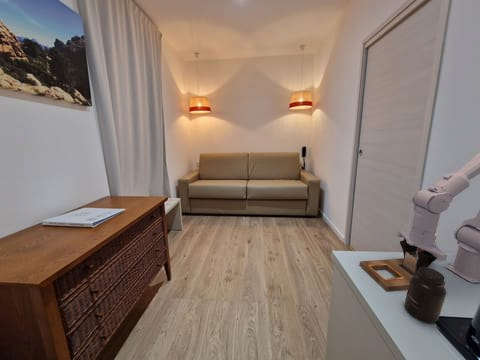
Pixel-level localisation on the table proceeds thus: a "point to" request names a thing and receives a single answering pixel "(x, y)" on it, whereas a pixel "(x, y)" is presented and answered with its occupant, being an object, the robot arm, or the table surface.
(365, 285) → the table surface
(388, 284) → the wooden shape sorting board
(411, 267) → the beige rectangular block
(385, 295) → the table surface
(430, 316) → the supplement bottle
